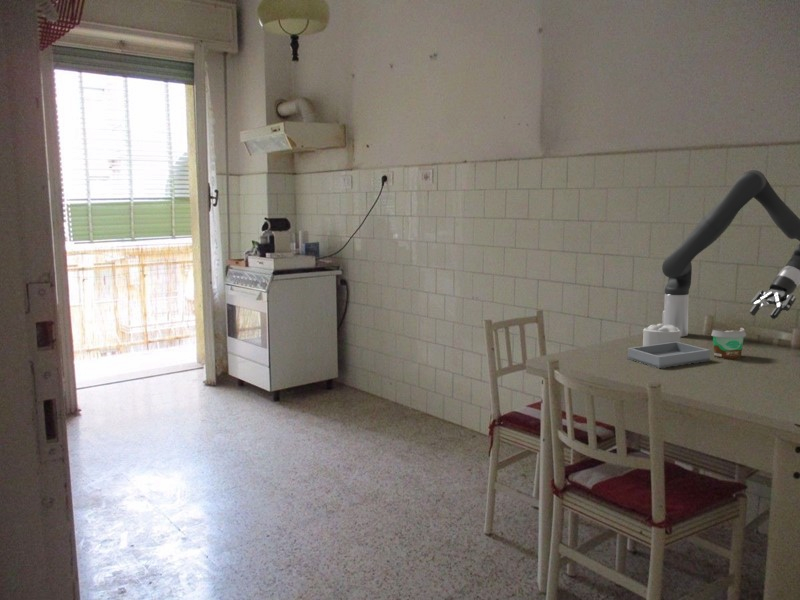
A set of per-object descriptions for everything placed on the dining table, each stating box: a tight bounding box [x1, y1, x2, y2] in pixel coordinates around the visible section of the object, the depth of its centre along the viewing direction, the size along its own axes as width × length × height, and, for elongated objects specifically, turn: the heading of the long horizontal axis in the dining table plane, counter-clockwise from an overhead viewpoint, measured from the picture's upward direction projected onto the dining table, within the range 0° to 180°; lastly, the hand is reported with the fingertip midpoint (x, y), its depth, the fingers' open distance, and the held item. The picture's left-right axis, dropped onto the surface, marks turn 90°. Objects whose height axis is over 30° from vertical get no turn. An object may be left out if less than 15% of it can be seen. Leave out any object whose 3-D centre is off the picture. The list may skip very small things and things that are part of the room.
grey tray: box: [627, 341, 711, 369], centre depth 237 cm, size 16×22×4 cm
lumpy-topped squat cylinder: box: [642, 323, 682, 346], centre depth 256 cm, size 10×13×9 cm
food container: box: [710, 327, 747, 360], centre depth 236 cm, size 12×6×10 cm, turn 102°
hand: (761, 315), depth 239 cm, fingers open, 8 cm apart
